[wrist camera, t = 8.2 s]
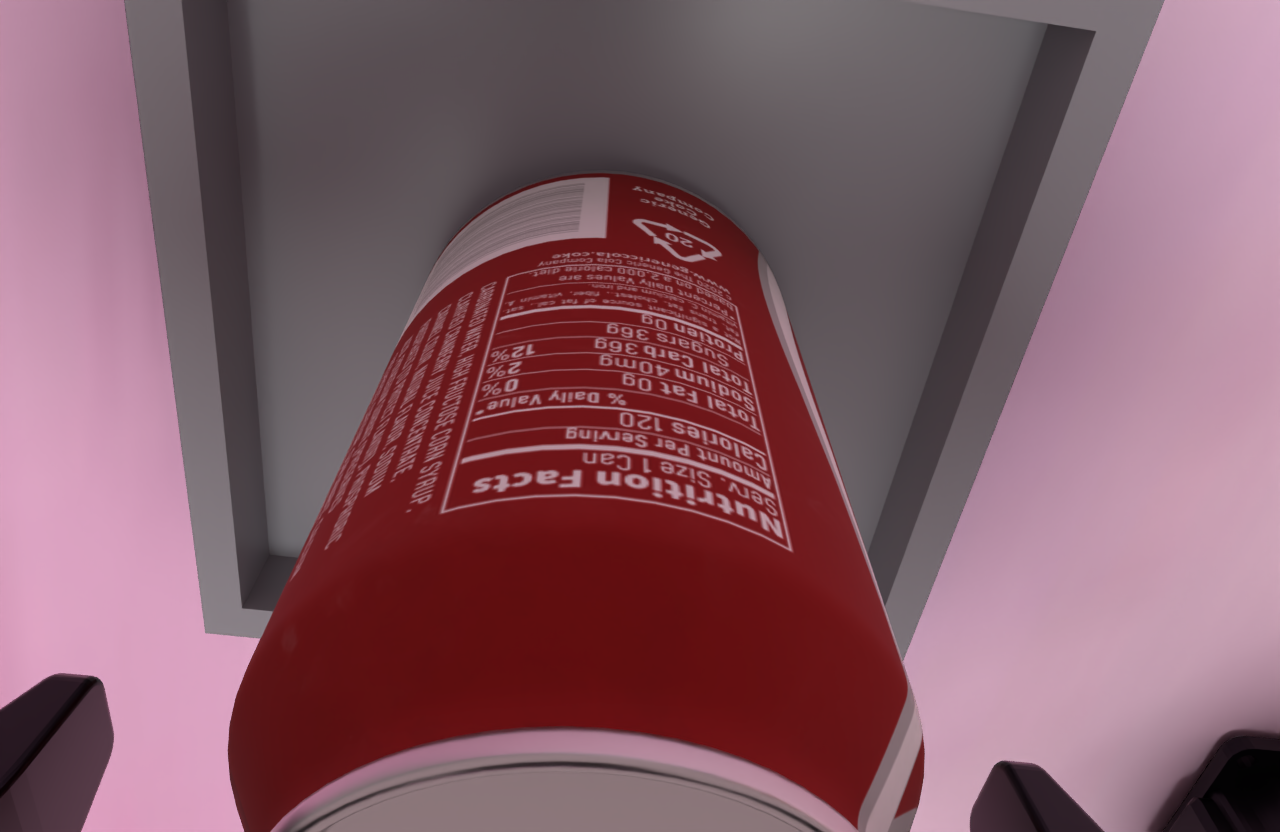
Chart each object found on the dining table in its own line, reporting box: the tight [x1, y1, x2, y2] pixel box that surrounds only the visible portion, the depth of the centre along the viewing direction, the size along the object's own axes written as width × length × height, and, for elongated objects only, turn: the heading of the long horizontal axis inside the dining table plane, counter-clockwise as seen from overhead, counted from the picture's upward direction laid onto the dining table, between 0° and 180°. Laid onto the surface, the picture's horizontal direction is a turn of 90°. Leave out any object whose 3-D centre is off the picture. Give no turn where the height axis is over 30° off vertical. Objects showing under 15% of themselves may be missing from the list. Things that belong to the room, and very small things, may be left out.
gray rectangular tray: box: [124, 0, 1164, 661], centre depth 18 cm, size 15×15×2 cm
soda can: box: [228, 170, 925, 832], centre depth 13 cm, size 7×7×12 cm
